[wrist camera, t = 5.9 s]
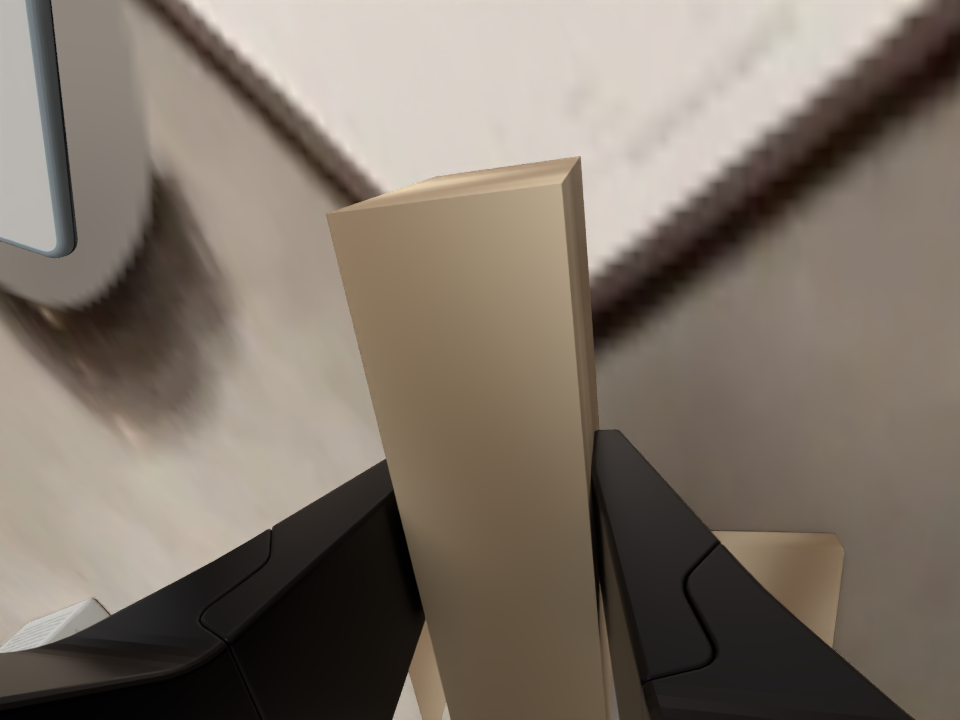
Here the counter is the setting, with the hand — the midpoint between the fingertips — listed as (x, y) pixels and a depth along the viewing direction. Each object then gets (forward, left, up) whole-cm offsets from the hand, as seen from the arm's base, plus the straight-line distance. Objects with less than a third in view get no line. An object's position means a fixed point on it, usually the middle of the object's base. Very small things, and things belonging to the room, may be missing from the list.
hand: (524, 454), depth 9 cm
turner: (0, +3, -2) cm, 3 cm away
